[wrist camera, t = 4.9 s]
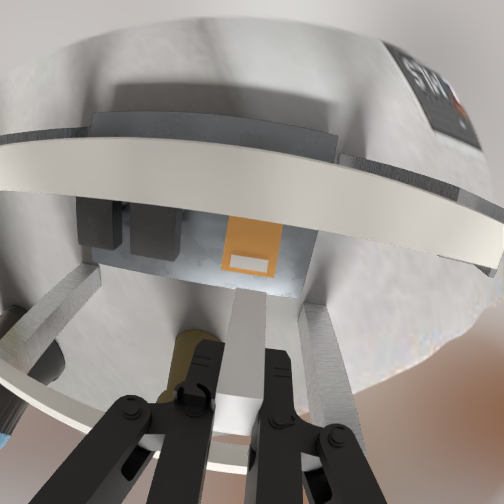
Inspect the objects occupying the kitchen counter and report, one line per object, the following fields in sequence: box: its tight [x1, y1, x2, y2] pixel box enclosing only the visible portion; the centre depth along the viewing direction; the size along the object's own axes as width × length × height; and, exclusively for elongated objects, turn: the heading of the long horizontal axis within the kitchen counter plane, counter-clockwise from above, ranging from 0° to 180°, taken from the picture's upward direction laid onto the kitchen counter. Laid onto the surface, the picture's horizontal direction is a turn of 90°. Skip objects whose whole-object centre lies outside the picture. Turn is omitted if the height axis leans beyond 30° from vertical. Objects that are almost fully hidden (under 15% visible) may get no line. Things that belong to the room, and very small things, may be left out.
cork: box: [156, 330, 221, 403], centre depth 26 cm, size 6×6×11 cm
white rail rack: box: [0, 111, 504, 456], centre depth 17 cm, size 28×19×17 cm
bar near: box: [0, 137, 504, 269], centre depth 6 cm, size 26×2×2 cm, turn 81°
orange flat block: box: [221, 215, 283, 278], centre depth 18 cm, size 4×7×2 cm, turn 171°
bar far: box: [0, 358, 249, 474], centre depth 12 cm, size 26×2×2 cm, turn 81°
